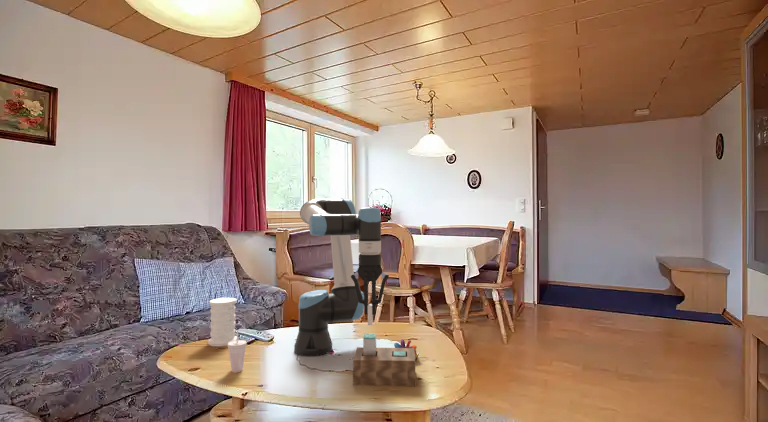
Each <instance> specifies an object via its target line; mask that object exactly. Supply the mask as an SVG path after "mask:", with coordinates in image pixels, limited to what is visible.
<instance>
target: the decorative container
mask: <svg viewBox="0 0 768 422" xmlns="http://www.w3.org/2000/svg"><path fill="white" fill-rule="evenodd" d="M236 304H237V298H235V297H219V298H213V299H211V300H209V306H210V307H211V308H210V310H209V311H210V313H211V314H210V317H209V318H210V321H211V322H210V325H209V326H210V334H209V335H210V339H208V346H210V347H226V346H228V343H229V342H231V341H235V340H237V335H236V333H237V330H236V316H237V315H236V310H237V308H236Z"/></svg>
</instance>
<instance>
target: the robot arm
mask: <svg viewBox="0 0 768 422" xmlns="http://www.w3.org/2000/svg"><path fill="white" fill-rule="evenodd" d="M355 207H356V206H355V204H354V202H353V201H352V200H351V199H348V198H342V197H341V198H313V199H310V200H308V201H306V202H305V203H303V204H302V206H301V207H300V210H299V216H300V218H301V220H302V222H304V223H305V224H307V225H308V229H309V233H310V235H311V236H313V237H314V236H317V237H323V236H324V237H325V236H330V243H331V244H330V245H331V256H332V270H333V272H332V273H333V283H334V285H333V287H332V288H331V291H330V292H331V293H329V291H328V290H327V289H315V290H310V291H306V292H304V293H302V294H301V295H300V296H299V298H298V299H299V300H298V306H297V308H298V333H297V336H296V340H295V343H294V346H293V347H294V350H293V352H294V353H295V354H297V355H299V356H306V357H313V356H314V357H315V356H316V357H317V356H321V355H325V354H328V353H330V352H331V351H332V350H333V342H332V338H331V334H330V332H329V323H336V322H348V321H349V322H352V321H355V320H360V319H361V318H362V317H363V314H364V315H367V326H373V325H374V315H376V313H377V305H378V304H380V303H382V300H383V299H382V298H383V294H384V290H385V285H386V282H387V280H388V279H389V277H390V275H389V273H386V272H384V271H383V268H382V255H381V252H382V225H381V224H382V216H381V215H382V214H381V209H380V208H379V207H360V208H359V209H358V213H357V212H356V208H355ZM351 236H358V253H360V254H358V268H357V270H356V272H354V263H353V251H352V250H353V249H352V241H351ZM380 276H381V279H382V280H381V285H380V289H379V292H378V297H377V281H378V279H379V278H380ZM359 277H360V278H361V279H362V281H363V291H362V290H361V287H360V286H361V285H360V282H359ZM369 282H371V303H369V302H370V301H369Z"/></svg>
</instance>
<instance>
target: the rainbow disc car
mask: <svg viewBox="0 0 768 422" xmlns="http://www.w3.org/2000/svg"><path fill="white" fill-rule="evenodd" d="M411 343H412V340H408V341H407V343H406V341H405V339H401V340H400V343H398V342H395V343H394V344H393V345H394V348H414V353H415V359H416V358H417V357H418V353H417V349H418V348H417V345H411Z"/></svg>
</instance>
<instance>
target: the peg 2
mask: <svg viewBox="0 0 768 422" xmlns="http://www.w3.org/2000/svg"><path fill="white" fill-rule="evenodd" d="M393 357H406V352H405V351H394V355H393Z"/></svg>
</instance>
